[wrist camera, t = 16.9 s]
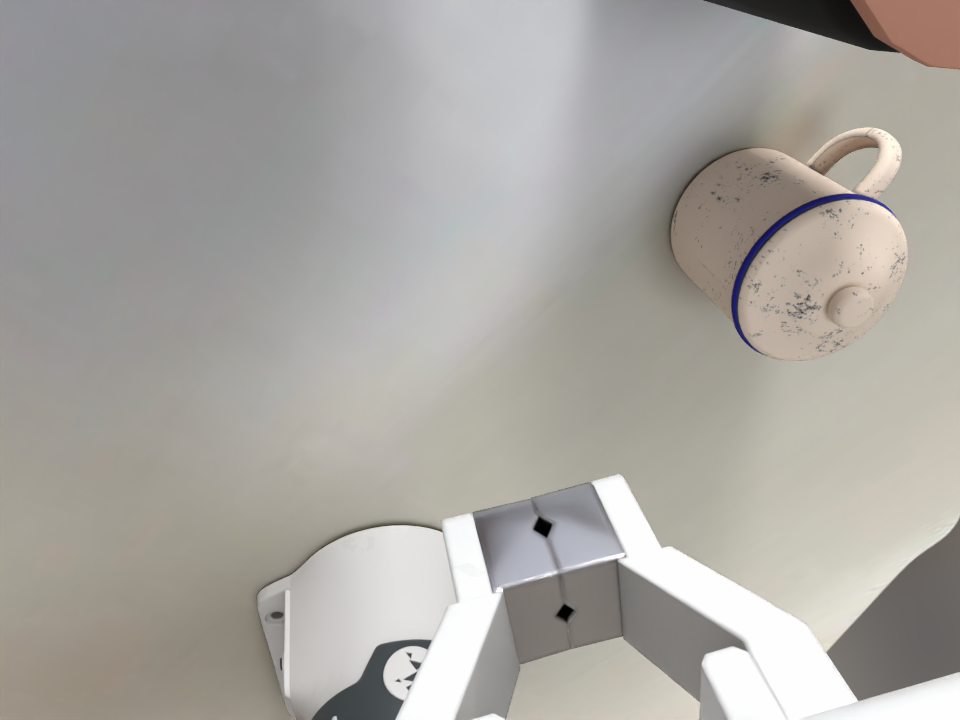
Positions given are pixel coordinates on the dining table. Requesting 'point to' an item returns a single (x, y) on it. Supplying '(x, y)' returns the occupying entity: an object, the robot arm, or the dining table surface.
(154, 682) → the dining table surface
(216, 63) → the dining table surface
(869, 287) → the teacup with lid
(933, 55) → the coffee jar
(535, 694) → the dining table surface
